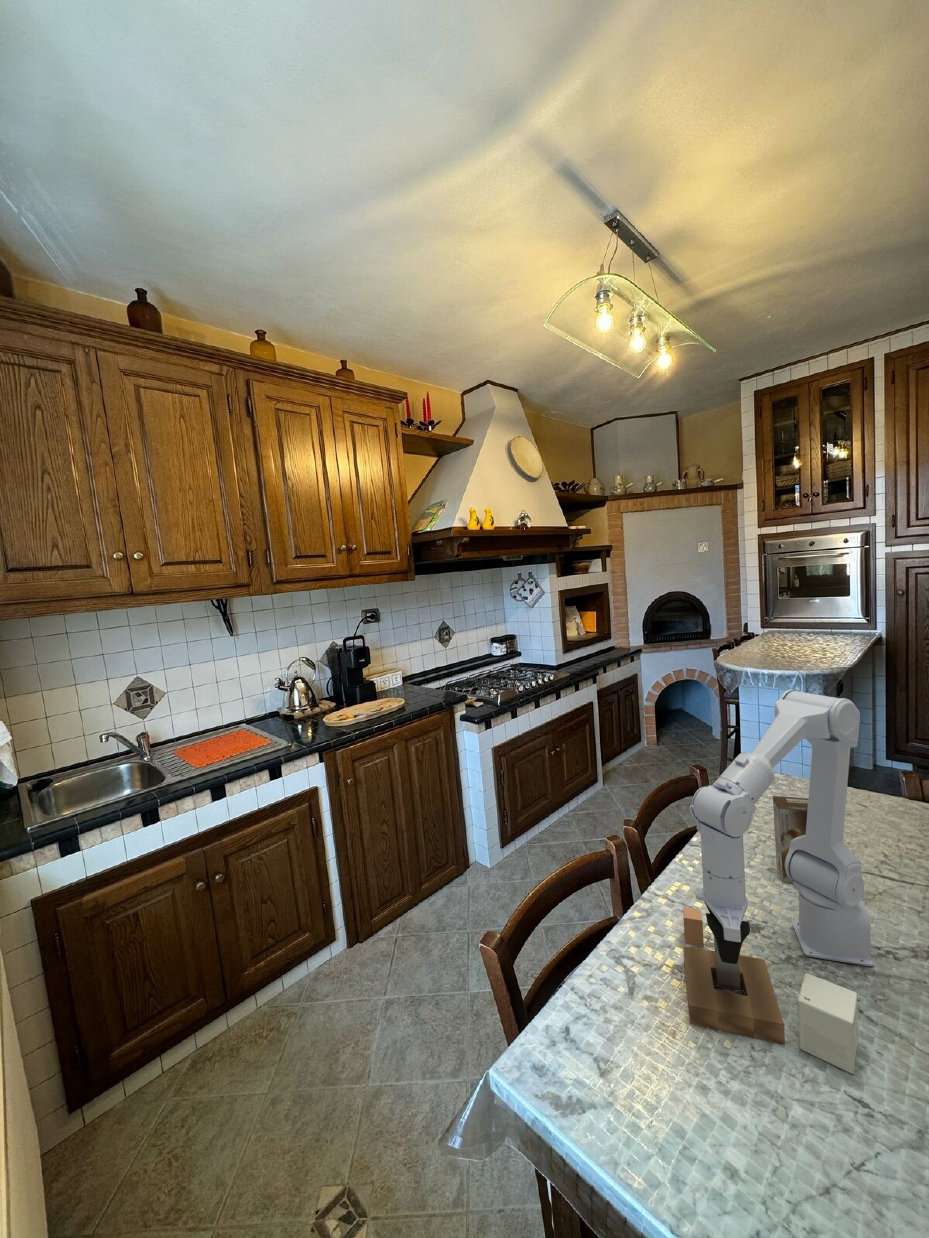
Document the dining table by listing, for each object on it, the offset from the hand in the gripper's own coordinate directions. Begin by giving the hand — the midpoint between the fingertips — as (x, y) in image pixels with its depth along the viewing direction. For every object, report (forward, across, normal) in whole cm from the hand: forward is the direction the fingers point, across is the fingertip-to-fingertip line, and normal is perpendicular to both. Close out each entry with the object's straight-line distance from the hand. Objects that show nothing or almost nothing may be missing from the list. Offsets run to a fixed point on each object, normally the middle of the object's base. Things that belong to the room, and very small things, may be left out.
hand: (727, 952), depth 75 cm
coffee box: (+8, -36, +19) cm, 41 cm away
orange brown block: (+8, -12, -4) cm, 15 cm away
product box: (+8, +5, +12) cm, 15 cm away
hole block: (+8, 0, 0) cm, 8 cm away
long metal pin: (+5, 0, 0) cm, 5 cm away
